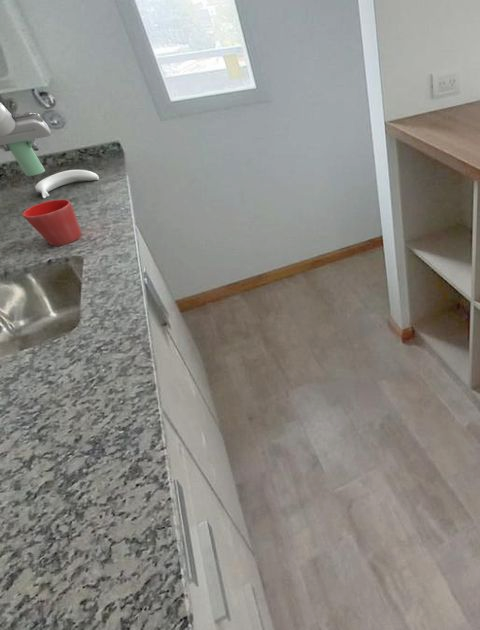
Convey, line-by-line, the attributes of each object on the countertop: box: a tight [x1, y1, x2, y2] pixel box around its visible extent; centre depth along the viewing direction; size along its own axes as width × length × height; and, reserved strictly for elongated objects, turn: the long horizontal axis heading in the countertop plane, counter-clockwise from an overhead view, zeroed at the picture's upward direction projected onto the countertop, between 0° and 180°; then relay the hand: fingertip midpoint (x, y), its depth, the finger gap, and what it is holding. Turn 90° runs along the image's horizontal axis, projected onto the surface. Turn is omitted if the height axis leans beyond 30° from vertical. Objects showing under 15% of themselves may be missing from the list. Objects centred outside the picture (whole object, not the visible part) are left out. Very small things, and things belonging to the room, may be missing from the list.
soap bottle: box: [6, 140, 46, 177], centre depth 134 cm, size 5×5×15 cm
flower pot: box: [22, 199, 83, 247], centre depth 121 cm, size 11×11×10 cm
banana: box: [34, 169, 100, 199], centre depth 158 cm, size 5×19×15 cm
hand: (20, 146), depth 134 cm, fingers closed on soap bottle, 5 cm apart
